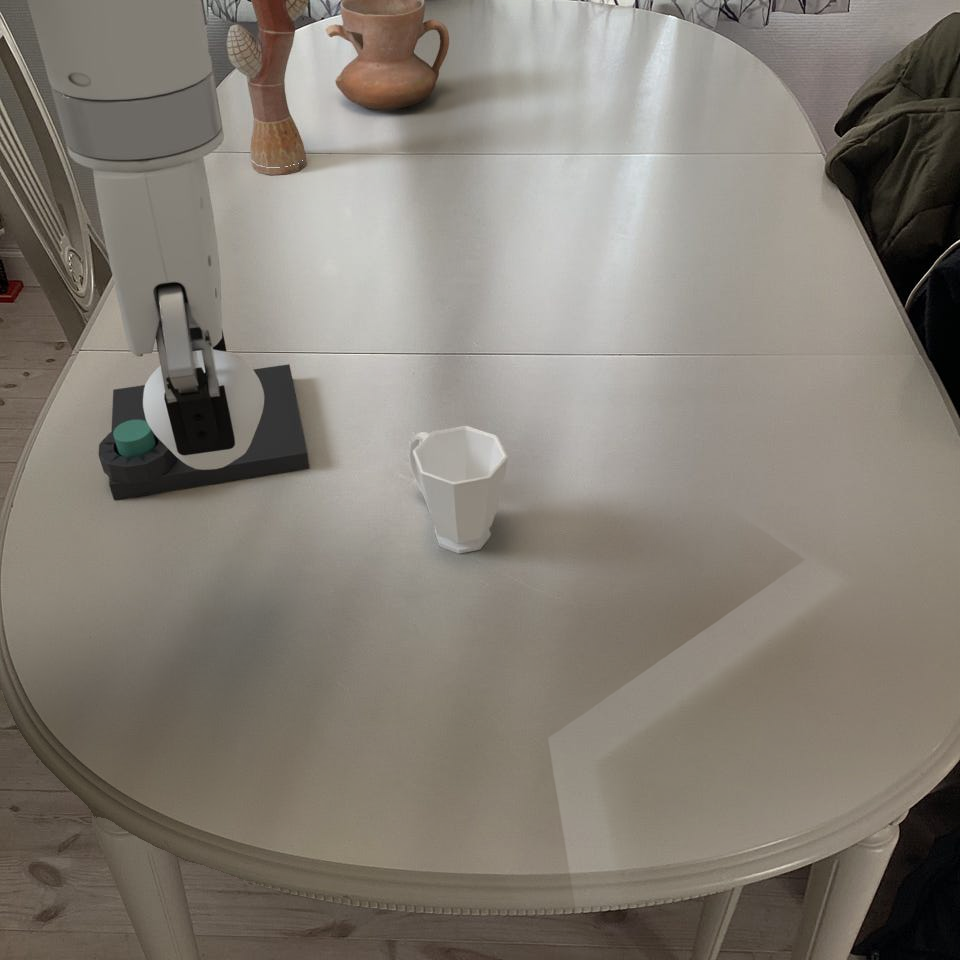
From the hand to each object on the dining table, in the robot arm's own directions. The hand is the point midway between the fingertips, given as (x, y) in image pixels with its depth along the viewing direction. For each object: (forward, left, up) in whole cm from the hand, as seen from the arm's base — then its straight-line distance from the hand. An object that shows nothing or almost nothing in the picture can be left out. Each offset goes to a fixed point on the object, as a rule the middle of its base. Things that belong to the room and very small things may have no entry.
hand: (205, 408), depth 61 cm
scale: (-2, +23, -19) cm, 30 cm away
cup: (+16, +6, -19) cm, 25 cm away
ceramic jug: (+29, +102, -19) cm, 108 cm away
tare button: (-7, +19, -15) cm, 26 cm away
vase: (+11, +82, -19) cm, 85 cm away
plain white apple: (0, 0, -3) cm, 3 cm away
